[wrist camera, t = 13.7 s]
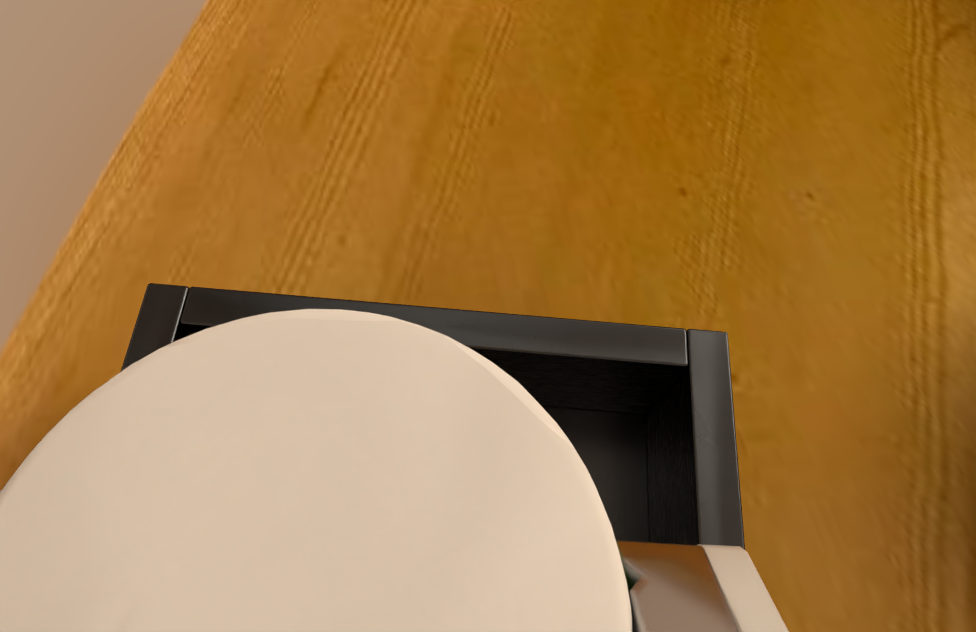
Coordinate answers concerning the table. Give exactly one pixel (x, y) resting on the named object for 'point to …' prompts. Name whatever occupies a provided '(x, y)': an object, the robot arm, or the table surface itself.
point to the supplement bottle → (308, 494)
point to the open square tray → (564, 398)
